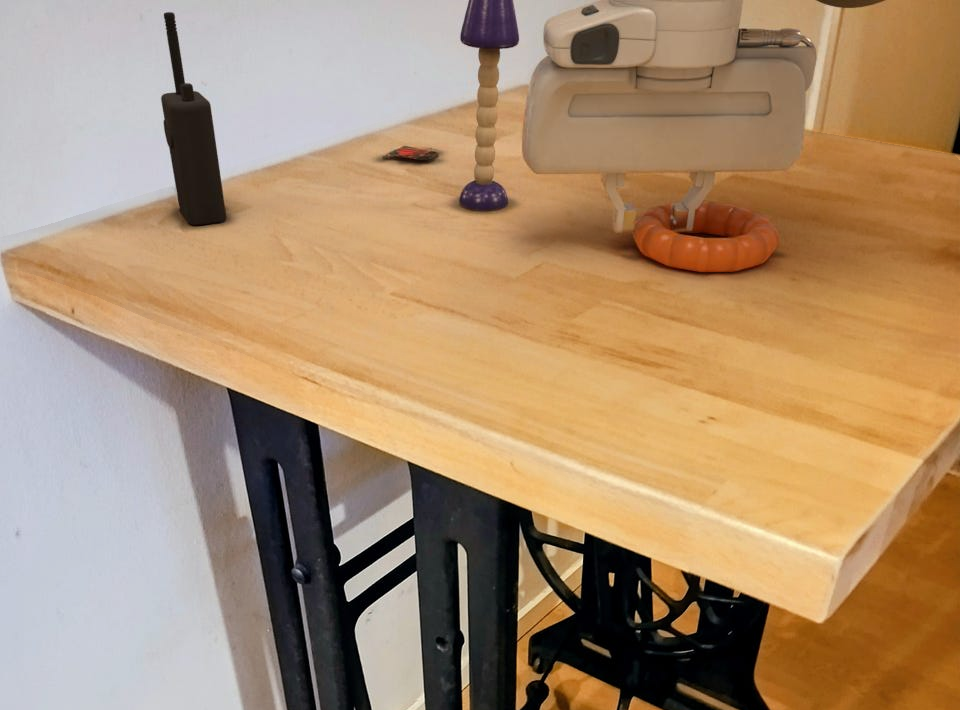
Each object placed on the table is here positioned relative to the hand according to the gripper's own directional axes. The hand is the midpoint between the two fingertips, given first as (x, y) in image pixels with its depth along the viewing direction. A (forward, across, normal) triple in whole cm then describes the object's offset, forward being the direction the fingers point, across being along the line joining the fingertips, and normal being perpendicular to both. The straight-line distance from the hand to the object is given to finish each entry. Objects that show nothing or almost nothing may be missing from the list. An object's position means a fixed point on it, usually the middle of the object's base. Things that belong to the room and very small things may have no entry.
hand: (651, 229), depth 78 cm
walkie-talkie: (+2, +36, -10) cm, 37 cm away
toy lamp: (+2, +12, -12) cm, 17 cm away
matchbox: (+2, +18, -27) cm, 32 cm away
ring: (0, -4, 0) cm, 4 cm away
